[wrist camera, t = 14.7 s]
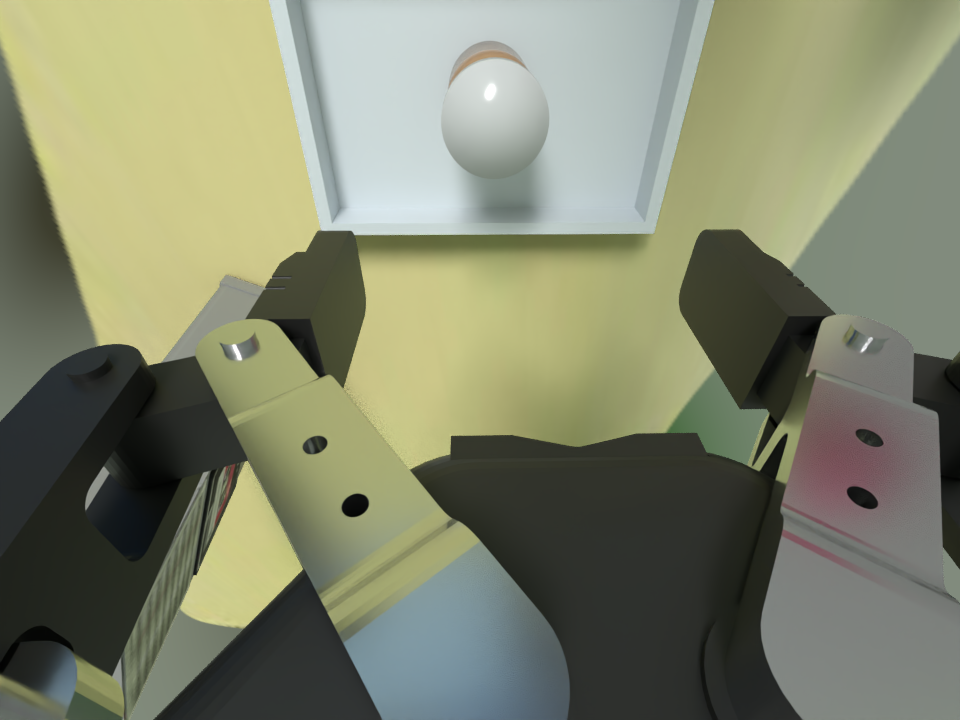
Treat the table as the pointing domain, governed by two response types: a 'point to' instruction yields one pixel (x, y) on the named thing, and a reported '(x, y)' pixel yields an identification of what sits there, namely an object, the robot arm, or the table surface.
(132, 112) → the table surface
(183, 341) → the cassette tape recorder
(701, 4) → the tray
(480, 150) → the shaker
